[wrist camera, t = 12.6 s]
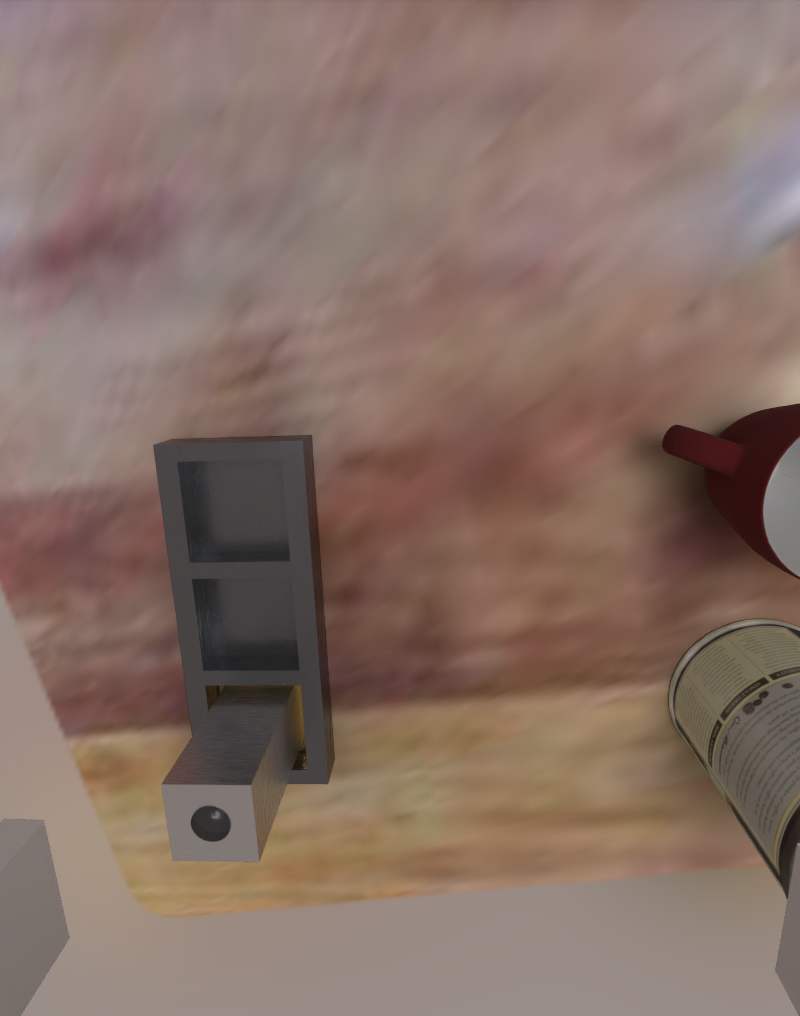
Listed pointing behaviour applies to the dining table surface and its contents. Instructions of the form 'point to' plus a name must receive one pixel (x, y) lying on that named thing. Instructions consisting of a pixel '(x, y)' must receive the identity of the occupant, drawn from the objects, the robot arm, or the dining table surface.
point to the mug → (753, 478)
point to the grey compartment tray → (249, 577)
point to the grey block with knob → (233, 775)
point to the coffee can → (748, 729)
